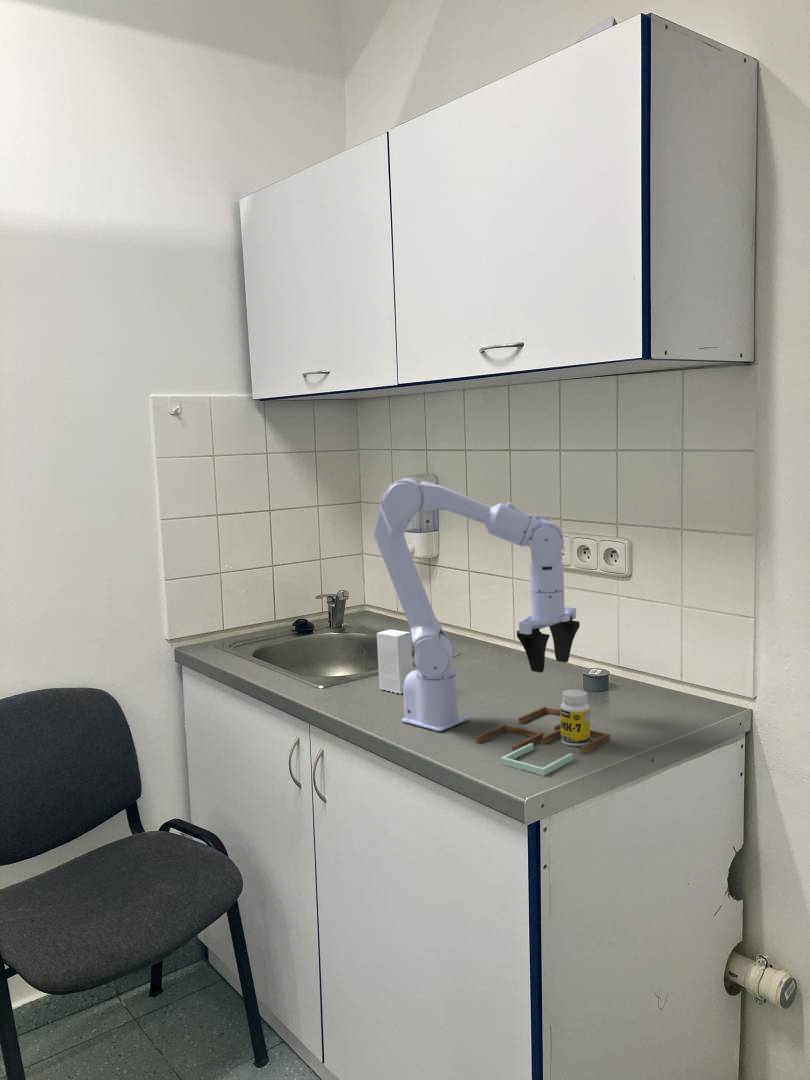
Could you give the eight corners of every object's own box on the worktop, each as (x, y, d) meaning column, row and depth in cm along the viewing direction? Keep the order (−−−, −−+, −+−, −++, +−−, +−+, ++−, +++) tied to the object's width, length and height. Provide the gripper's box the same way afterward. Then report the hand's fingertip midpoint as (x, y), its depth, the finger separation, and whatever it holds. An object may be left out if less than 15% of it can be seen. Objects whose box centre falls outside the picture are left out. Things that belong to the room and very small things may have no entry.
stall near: (476, 742, 147) (475, 736, 147) (505, 729, 153) (504, 723, 153) (514, 753, 142) (514, 747, 142) (543, 738, 148) (543, 733, 148)
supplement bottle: (556, 744, 145) (555, 694, 144) (567, 735, 149) (566, 686, 148) (583, 749, 142) (582, 698, 141) (594, 739, 146) (593, 690, 145)
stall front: (541, 743, 146) (541, 737, 145) (568, 730, 151) (568, 724, 151) (583, 754, 140) (583, 748, 140) (609, 739, 146) (609, 734, 146)
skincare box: (414, 689, 179) (412, 632, 178) (400, 695, 176) (397, 636, 174) (392, 685, 183) (390, 628, 182) (378, 690, 180) (375, 632, 178)
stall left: (518, 723, 156) (518, 717, 156) (544, 711, 162) (544, 706, 162) (557, 732, 151) (556, 726, 150) (582, 719, 156) (582, 714, 156)
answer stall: (500, 763, 138) (500, 757, 138) (530, 748, 143) (530, 743, 143) (543, 775, 132) (543, 769, 132) (573, 759, 138) (572, 753, 138)
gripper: (542, 599, 145) (545, 679, 147) (589, 585, 155) (592, 660, 157) (507, 595, 150) (510, 673, 152) (556, 581, 160) (558, 654, 162)
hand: (550, 666), depth 155 cm, fingers open, 7 cm apart
